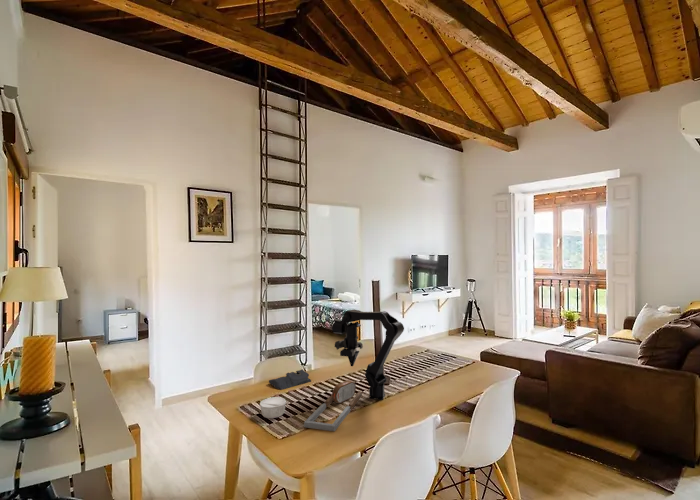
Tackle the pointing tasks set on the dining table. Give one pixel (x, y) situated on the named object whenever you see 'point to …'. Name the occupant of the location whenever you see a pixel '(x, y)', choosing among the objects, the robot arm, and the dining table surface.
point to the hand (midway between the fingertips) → (352, 366)
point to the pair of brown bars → (349, 403)
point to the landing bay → (325, 426)
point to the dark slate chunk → (290, 380)
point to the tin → (343, 391)
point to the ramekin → (273, 407)
